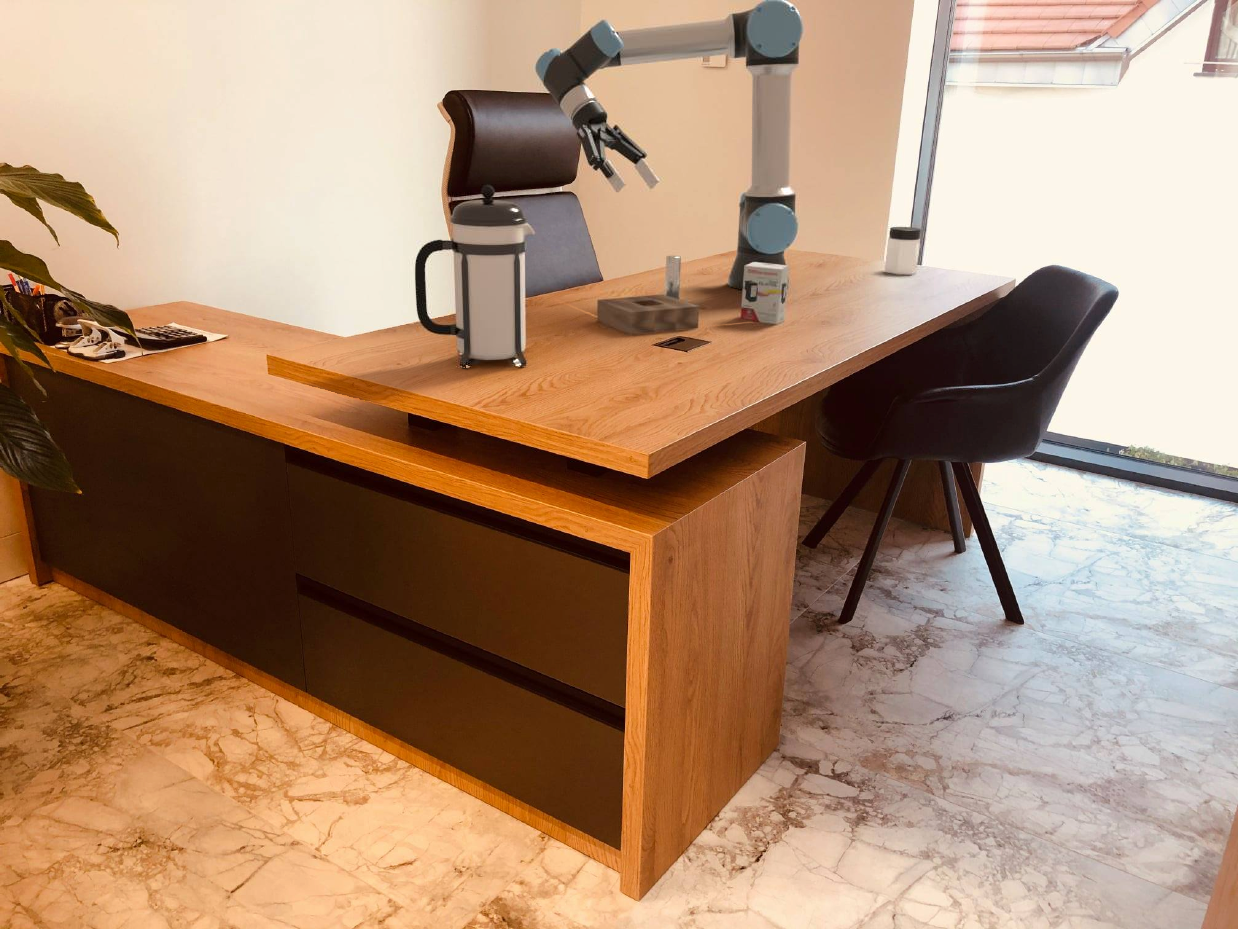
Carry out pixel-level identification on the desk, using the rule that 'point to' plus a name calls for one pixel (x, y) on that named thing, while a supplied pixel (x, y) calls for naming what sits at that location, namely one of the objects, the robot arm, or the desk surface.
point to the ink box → (764, 292)
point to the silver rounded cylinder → (672, 276)
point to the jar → (902, 250)
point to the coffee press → (483, 280)
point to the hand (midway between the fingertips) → (638, 186)
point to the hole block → (647, 314)
